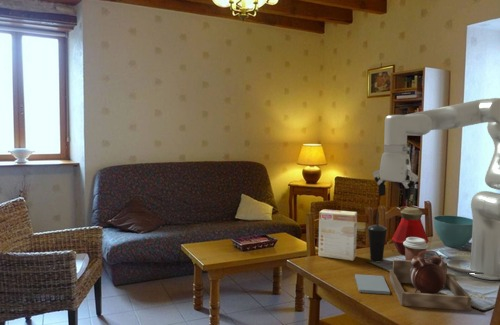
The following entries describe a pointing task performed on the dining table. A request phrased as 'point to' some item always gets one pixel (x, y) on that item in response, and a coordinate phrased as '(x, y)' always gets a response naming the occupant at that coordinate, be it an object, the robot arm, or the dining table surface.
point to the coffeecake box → (337, 234)
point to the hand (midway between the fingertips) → (393, 197)
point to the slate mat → (371, 284)
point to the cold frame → (427, 300)
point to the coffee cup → (414, 247)
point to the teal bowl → (453, 230)
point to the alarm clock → (428, 274)
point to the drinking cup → (377, 241)
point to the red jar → (409, 228)
